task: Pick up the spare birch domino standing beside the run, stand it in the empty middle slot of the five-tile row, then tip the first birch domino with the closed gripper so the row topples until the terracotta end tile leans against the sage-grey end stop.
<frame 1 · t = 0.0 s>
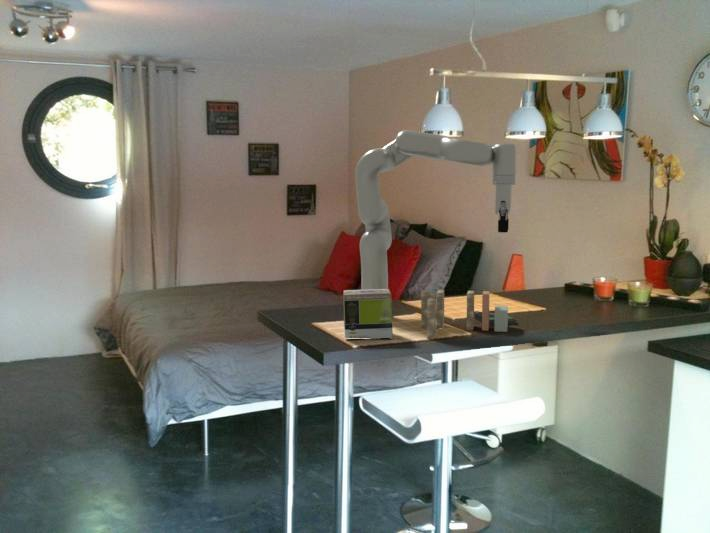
hand: (503, 231, 245), 31 cm above the table, tool pointing down, fingers open, 9 cm apart
domino 4: (470, 327, 238), on the table
domino 5: (485, 328, 237), on the table
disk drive: (493, 322, 250), on the table
domino 2: (440, 326, 241), on the table
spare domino: (431, 336, 227), on the table
tea box: (367, 337, 228), on the table
domino 1: (425, 326, 242), on the table
end stop: (501, 328, 236), on the table
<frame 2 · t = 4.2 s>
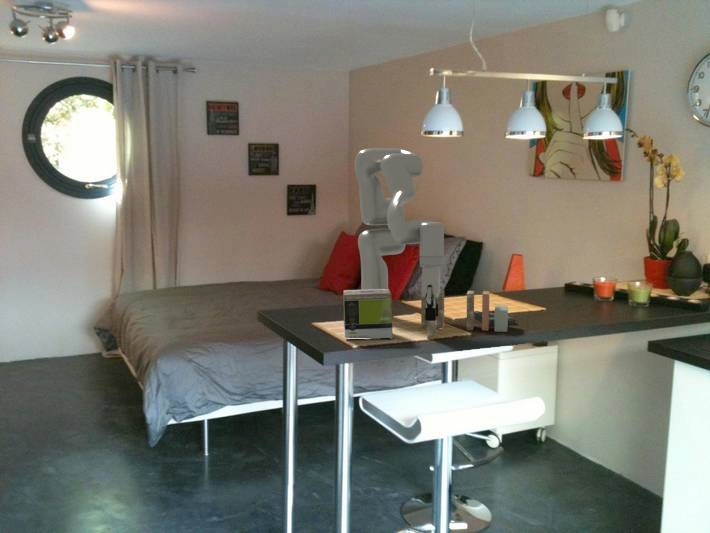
hand: (431, 317, 226), 6 cm above the table, tool pointing down, fingers closed on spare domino, 6 cm apart
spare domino: (431, 336, 227), on the table, touching gripper
everything else where it was.
when the fingers open (7 cm above the table, at t = 11.0 s): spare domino drops 1 cm, on the table.
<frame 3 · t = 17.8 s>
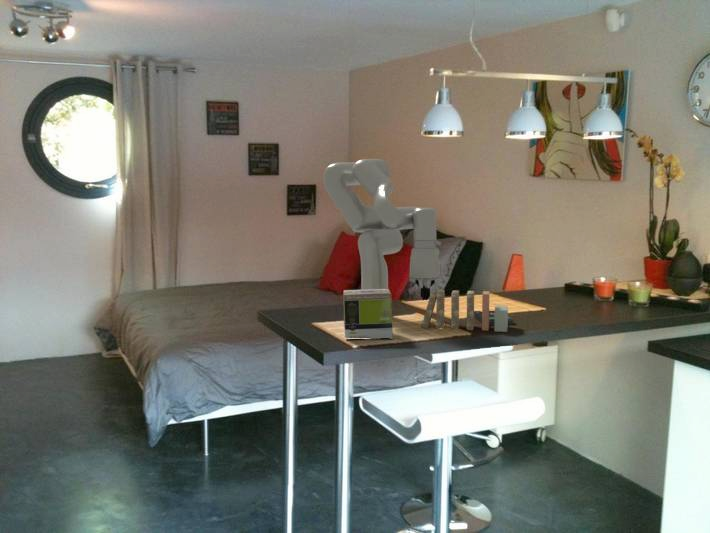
hand: (425, 299, 241), 9 cm above the table, tool pointing down, fingers closed
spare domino: (455, 327, 240), on the table
domino 1: (425, 325, 242), on the table, tilted 15°, touching gripper
everything else where it was.
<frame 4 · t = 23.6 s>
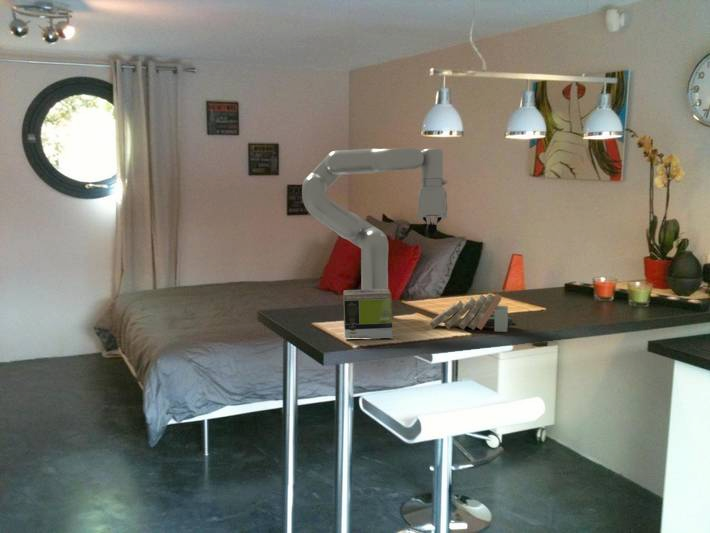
hand: (432, 235, 256), 29 cm above the table, tool pointing down, fingers closed
domino 4: (471, 326, 238), point 1 cm above the table, tilted 32°, touching domino 5, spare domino
domino 5: (479, 326, 238), point 1 cm above the table, tilted 32°, touching domino 4, end stop
domino 2: (447, 325, 240), point 1 cm above the table, tilted 45°, touching domino 1, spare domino
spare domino: (461, 325, 239), point 1 cm above the table, tilted 36°, touching domino 2, domino 4
domino 1: (432, 324, 241), point 1 cm above the table, tilted 53°, touching domino 2
everything else where it was.
at the end: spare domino inside the target area (0.6 cm from its centre), point 0.6 cm above the table; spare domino tilted 36°; domino 5 tilted 32° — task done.
